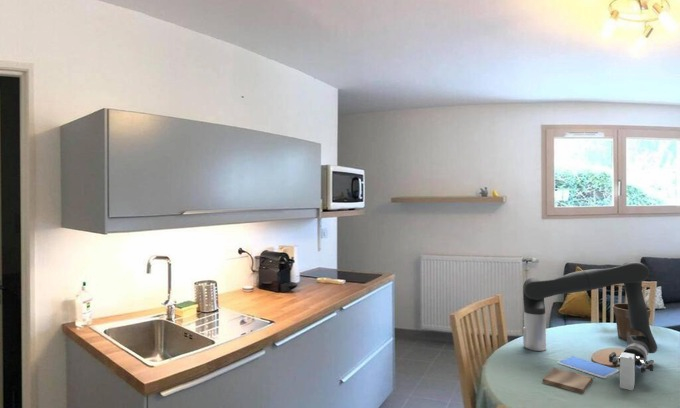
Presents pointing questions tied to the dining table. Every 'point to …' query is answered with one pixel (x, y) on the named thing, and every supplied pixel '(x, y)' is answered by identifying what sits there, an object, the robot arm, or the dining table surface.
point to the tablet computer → (588, 367)
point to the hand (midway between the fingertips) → (628, 367)
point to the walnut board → (568, 380)
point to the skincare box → (627, 371)
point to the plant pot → (625, 321)
